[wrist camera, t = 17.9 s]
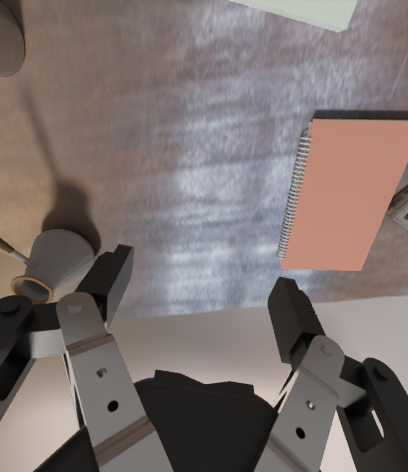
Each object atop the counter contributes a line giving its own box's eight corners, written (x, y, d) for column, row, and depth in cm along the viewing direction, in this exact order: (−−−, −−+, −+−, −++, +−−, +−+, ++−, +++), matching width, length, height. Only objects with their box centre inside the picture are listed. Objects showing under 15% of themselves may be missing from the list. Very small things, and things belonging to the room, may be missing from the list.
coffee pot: (108, 266, 52) (74, 324, 39) (59, 272, 53) (9, 330, 40) (62, 167, 41) (-6, 202, 28) (1, 177, 43) (-90, 215, 30)
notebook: (302, 118, 37) (306, 119, 35) (416, 119, 36) (427, 121, 34) (273, 263, 51) (275, 269, 49) (356, 265, 50) (361, 271, 48)
